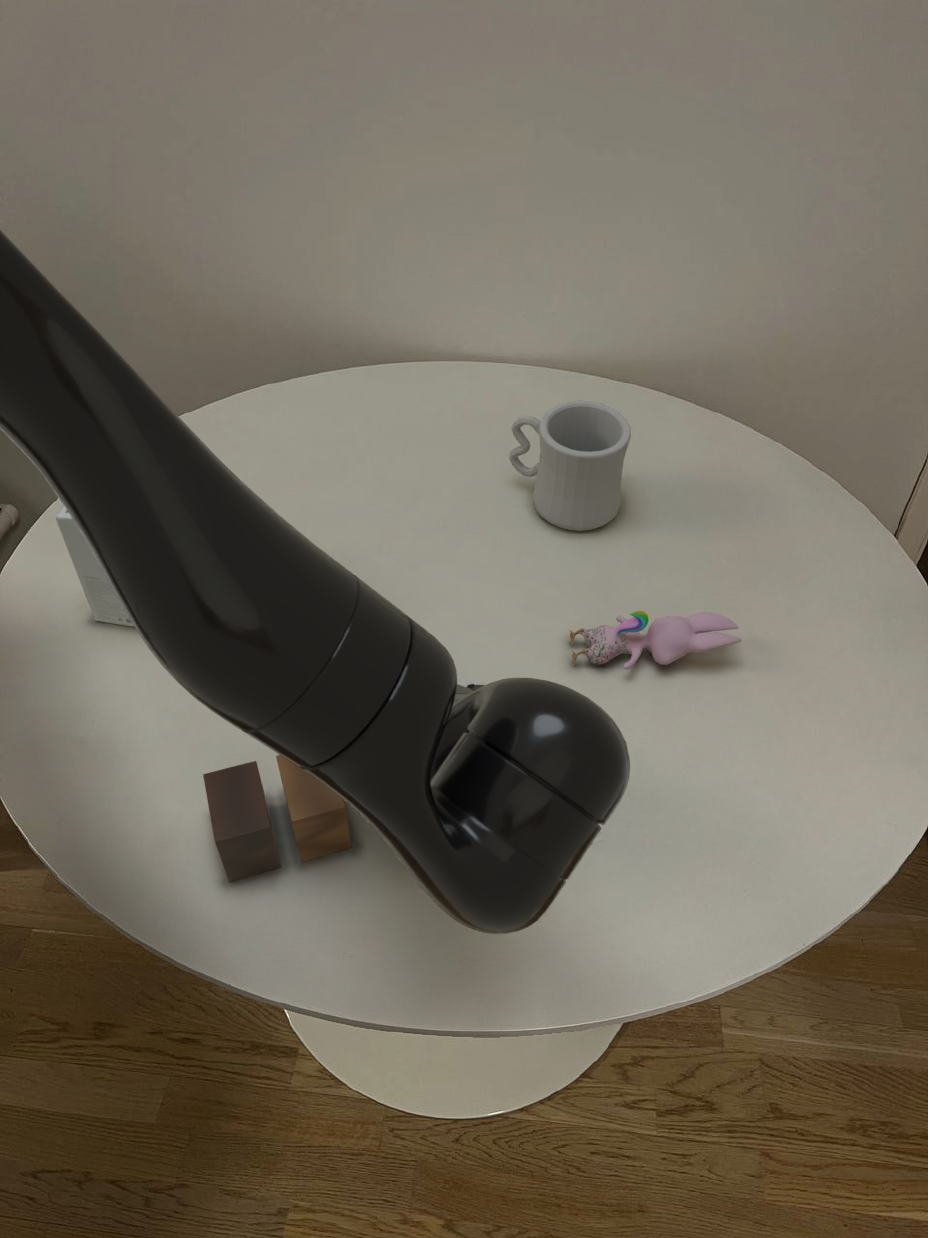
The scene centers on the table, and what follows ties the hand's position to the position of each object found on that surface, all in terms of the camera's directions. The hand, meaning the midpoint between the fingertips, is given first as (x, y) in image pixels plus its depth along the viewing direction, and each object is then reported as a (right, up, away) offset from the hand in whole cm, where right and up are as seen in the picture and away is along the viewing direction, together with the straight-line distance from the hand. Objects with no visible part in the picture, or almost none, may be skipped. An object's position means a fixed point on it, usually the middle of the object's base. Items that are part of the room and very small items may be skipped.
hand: (392, 712), depth 75 cm
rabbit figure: (+22, +4, +17) cm, 28 cm away
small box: (-25, +9, +21) cm, 34 cm away
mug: (+15, +19, +31) cm, 39 cm away
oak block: (-6, -9, +5) cm, 12 cm away
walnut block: (-11, -10, +3) cm, 16 cm away
